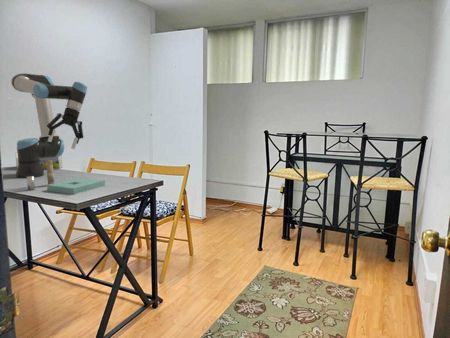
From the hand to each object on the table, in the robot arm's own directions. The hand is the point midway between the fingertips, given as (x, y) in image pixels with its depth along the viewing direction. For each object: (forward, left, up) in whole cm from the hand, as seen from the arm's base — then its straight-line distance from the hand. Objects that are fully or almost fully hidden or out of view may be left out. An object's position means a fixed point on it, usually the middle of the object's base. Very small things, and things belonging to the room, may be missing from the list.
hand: (61, 145), depth 177 cm
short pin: (-4, -17, -22) cm, 28 cm away
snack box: (-52, +33, -22) cm, 66 cm away
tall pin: (-4, -5, -22) cm, 23 cm away
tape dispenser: (-68, +34, -22) cm, 79 cm away
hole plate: (+14, -4, -22) cm, 27 cm away
